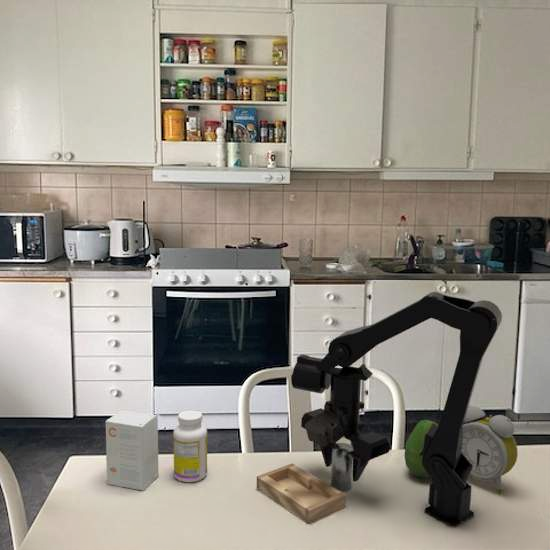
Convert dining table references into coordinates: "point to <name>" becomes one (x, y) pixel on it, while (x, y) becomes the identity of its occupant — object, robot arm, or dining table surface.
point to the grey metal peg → (341, 466)
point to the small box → (132, 449)
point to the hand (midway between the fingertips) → (341, 473)
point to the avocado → (417, 449)
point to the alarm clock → (489, 445)
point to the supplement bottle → (190, 447)
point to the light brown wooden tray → (301, 492)
